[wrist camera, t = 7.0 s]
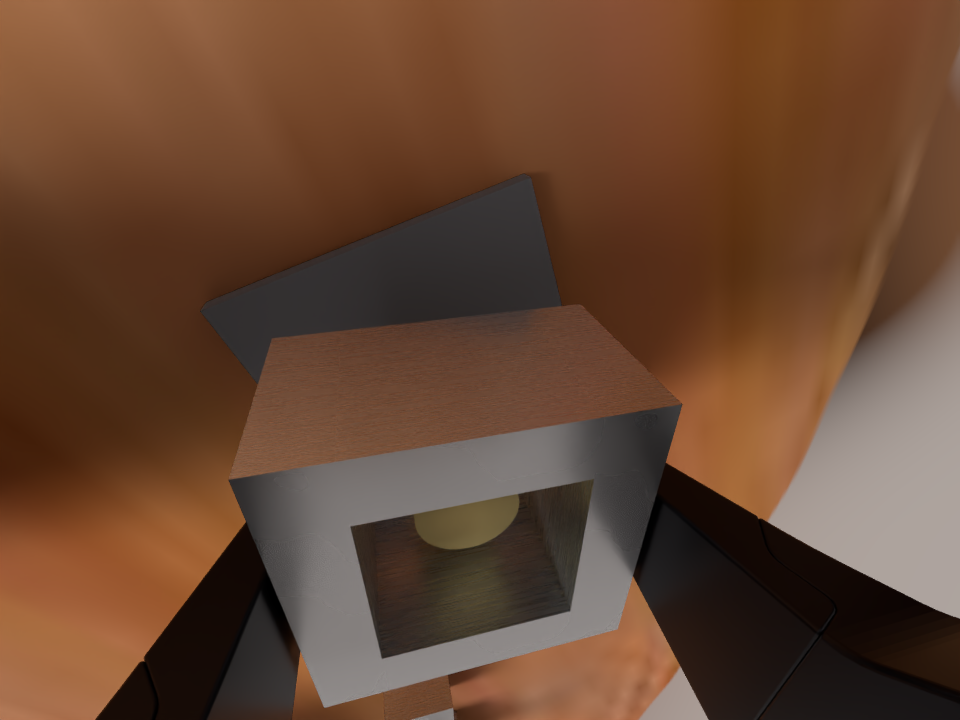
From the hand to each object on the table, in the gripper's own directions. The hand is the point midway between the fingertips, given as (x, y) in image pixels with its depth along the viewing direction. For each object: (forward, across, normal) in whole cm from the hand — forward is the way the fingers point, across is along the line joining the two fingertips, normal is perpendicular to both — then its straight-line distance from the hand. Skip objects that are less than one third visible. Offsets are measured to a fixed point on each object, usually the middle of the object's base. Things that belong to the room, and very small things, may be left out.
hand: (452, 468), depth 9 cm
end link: (+1, 0, 0) cm, 1 cm away
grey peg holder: (+4, 0, 0) cm, 4 cm away
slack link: (+4, +2, +17) cm, 18 cm away
